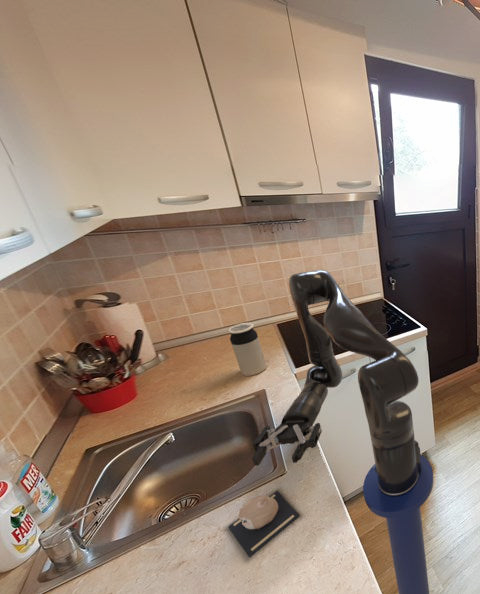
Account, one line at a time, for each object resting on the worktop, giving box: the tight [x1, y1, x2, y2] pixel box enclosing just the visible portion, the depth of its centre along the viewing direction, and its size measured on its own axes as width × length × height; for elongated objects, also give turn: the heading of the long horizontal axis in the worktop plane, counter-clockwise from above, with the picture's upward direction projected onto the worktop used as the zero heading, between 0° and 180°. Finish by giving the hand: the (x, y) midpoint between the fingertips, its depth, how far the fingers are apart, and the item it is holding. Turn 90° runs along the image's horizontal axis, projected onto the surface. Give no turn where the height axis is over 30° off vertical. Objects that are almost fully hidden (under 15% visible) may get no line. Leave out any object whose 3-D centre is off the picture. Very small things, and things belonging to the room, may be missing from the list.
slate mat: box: [228, 490, 300, 558], centre depth 71 cm, size 10×10×1 cm
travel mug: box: [227, 322, 268, 377], centre depth 119 cm, size 8×8×18 cm
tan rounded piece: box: [238, 494, 278, 529], centre depth 69 cm, size 7×6×8 cm
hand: (274, 461), depth 76 cm, fingers open, 8 cm apart
